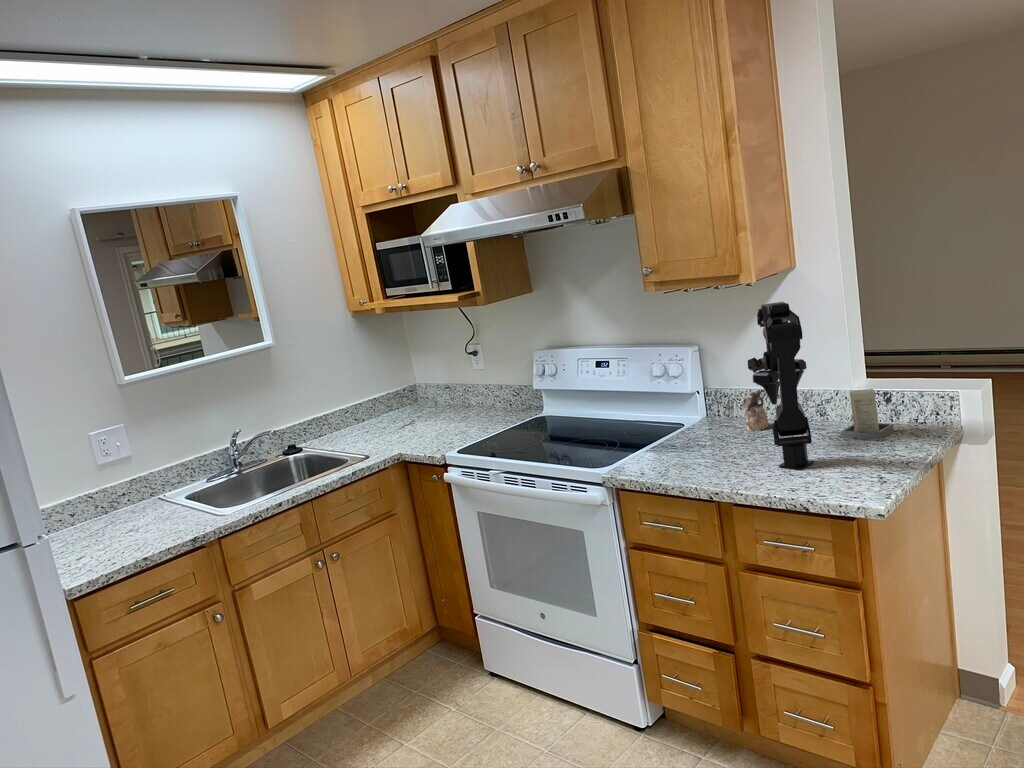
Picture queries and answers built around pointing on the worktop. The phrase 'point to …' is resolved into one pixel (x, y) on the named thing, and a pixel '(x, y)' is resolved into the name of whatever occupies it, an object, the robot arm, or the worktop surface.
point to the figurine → (755, 412)
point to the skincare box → (864, 411)
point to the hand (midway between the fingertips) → (783, 400)
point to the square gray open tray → (883, 431)
